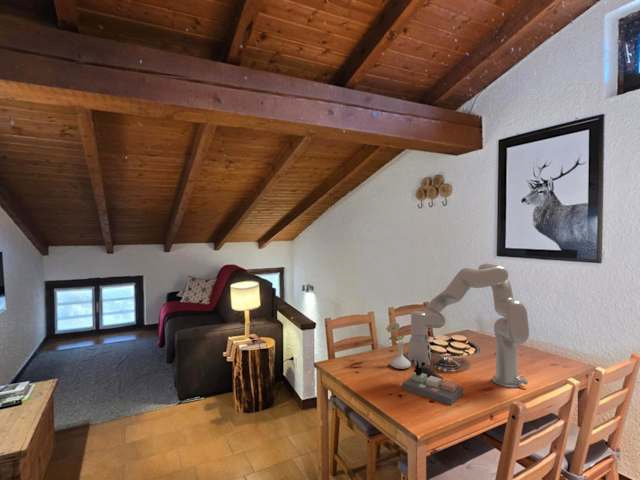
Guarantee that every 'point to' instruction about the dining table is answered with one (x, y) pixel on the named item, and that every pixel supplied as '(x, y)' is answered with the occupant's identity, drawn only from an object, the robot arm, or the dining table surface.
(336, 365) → the dining table surface
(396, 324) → the flower in vase
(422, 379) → the key sage
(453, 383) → the key terracotta
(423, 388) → the keypad
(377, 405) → the dining table surface
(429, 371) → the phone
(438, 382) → the key cream
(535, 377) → the dining table surface
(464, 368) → the dining table surface
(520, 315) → the robot arm
